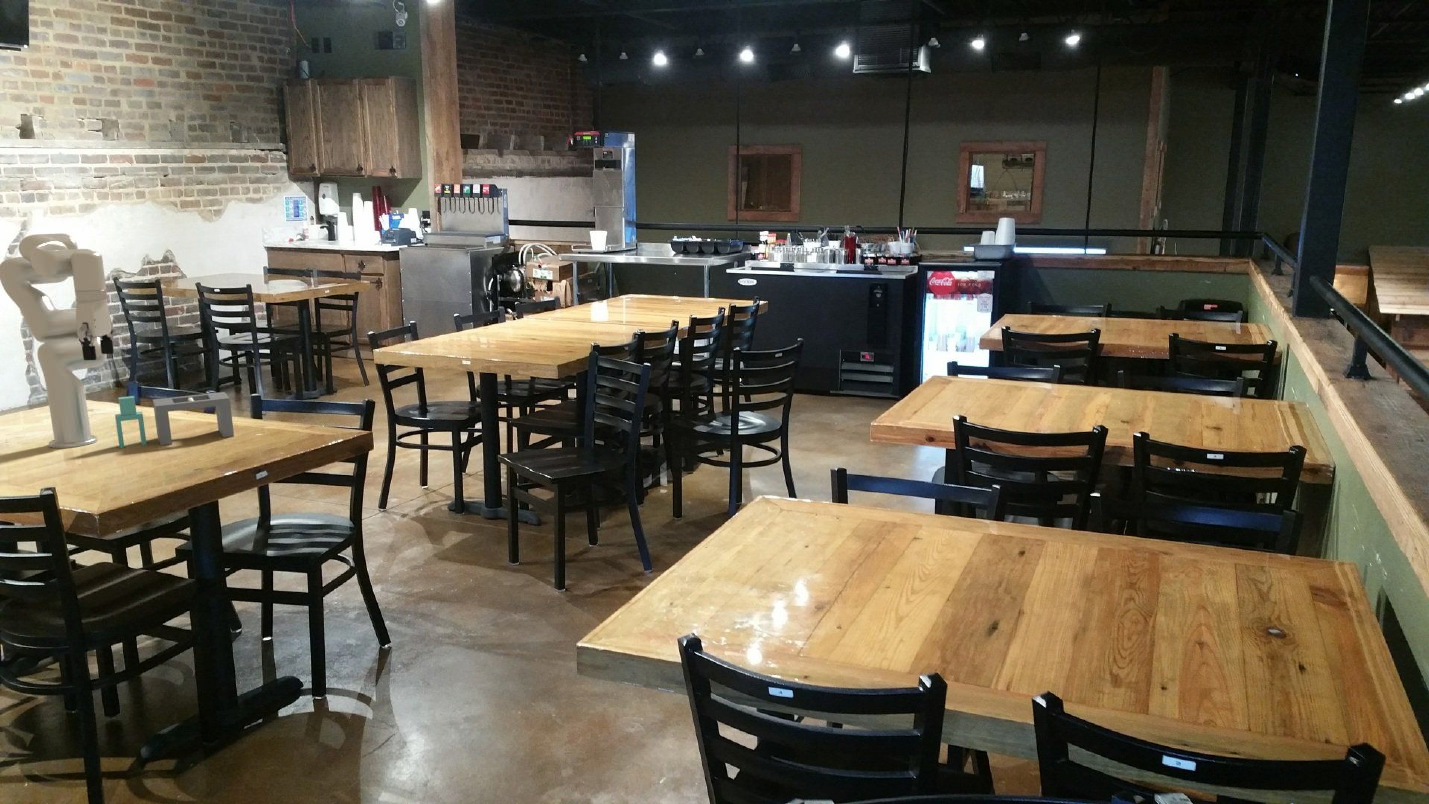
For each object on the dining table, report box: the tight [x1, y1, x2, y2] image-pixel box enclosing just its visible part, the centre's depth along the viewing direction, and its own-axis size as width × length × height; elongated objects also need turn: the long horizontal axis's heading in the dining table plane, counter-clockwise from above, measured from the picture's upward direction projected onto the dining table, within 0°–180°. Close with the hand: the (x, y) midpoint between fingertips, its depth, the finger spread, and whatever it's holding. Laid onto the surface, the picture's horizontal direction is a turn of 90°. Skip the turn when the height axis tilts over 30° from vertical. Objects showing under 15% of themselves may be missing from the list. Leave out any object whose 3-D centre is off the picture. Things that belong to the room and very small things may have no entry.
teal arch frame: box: [114, 395, 147, 449], centre depth 305 cm, size 4×7×14 cm, turn 122°
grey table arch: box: [152, 391, 235, 446], centre depth 314 cm, size 12×20×12 cm, turn 122°
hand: (99, 356), depth 289 cm, fingers open, 9 cm apart
